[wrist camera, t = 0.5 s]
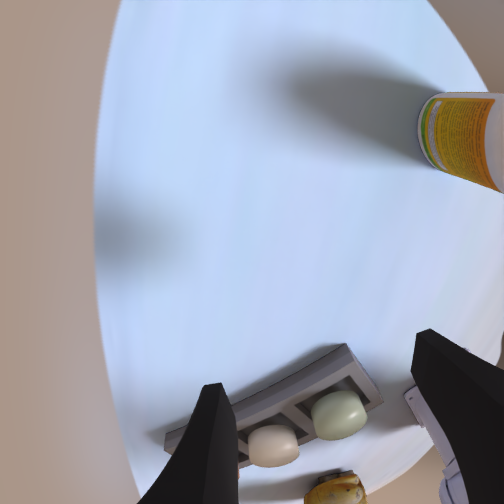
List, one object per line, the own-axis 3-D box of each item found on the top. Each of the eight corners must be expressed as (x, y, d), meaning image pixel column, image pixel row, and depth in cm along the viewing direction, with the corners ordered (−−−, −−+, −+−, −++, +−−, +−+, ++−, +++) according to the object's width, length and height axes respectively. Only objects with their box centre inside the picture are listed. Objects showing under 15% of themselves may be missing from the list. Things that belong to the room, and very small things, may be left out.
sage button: (366, 405, 22) (373, 423, 21) (324, 427, 23) (329, 445, 21) (348, 382, 21) (356, 402, 19) (301, 408, 22) (306, 428, 20)
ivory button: (303, 437, 23) (308, 455, 22) (265, 453, 24) (267, 471, 22) (279, 418, 22) (283, 438, 20) (238, 437, 23) (239, 456, 21)
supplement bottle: (431, 185, 18) (541, 238, 9) (402, 109, 16) (525, 118, 7) (481, 153, 17) (586, 187, 8) (457, 82, 15) (571, 85, 6)
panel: (376, 386, 25) (383, 401, 23) (213, 462, 28) (213, 477, 26) (345, 343, 22) (354, 360, 20) (165, 433, 25) (163, 450, 24)
